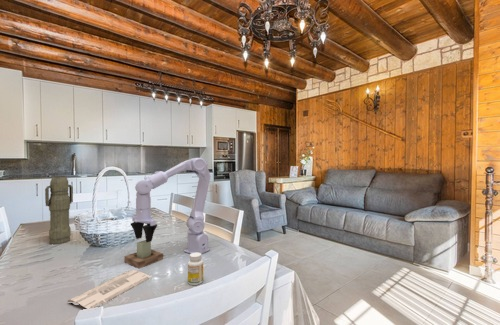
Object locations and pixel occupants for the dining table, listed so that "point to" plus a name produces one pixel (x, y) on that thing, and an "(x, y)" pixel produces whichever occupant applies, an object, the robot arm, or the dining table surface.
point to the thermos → (59, 209)
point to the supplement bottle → (195, 269)
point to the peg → (143, 249)
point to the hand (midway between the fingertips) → (143, 240)
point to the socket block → (143, 259)
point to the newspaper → (110, 289)
